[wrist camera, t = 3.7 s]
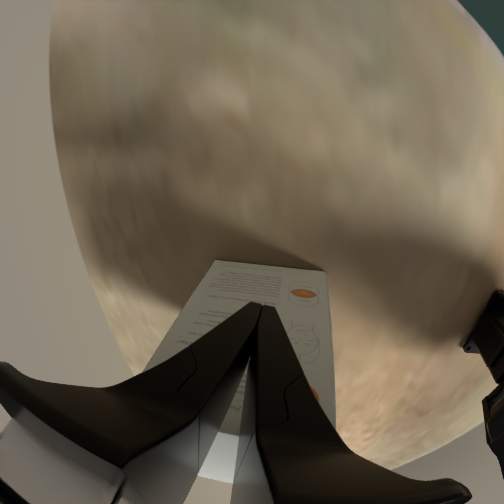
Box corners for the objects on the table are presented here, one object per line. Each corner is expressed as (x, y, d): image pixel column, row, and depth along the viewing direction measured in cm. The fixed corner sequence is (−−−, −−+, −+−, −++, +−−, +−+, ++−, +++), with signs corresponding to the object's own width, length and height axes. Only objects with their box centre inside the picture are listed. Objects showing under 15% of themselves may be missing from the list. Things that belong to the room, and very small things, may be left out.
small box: (216, 326, 23) (153, 464, 11) (214, 257, 20) (116, 402, 9) (315, 339, 22) (305, 494, 10) (328, 269, 19) (339, 447, 7)
